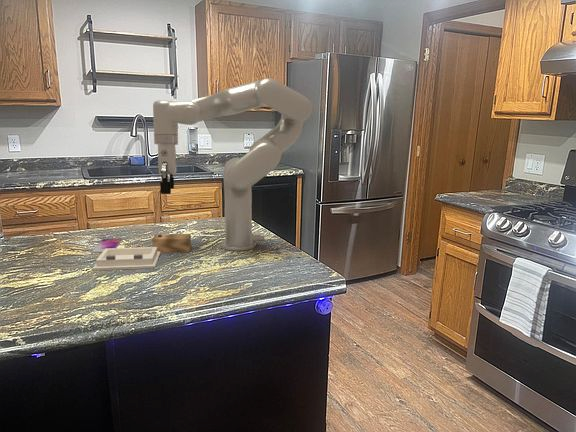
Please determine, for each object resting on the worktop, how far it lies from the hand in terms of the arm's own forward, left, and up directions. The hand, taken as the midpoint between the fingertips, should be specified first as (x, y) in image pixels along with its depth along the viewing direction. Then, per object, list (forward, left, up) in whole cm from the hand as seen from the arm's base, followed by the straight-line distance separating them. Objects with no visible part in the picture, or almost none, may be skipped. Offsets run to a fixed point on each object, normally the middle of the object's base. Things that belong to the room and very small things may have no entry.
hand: (167, 191), depth 144 cm
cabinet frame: (+12, +11, -21) cm, 26 cm away
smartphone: (+22, -6, -21) cm, 31 cm away
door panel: (-1, 0, -21) cm, 21 cm away
